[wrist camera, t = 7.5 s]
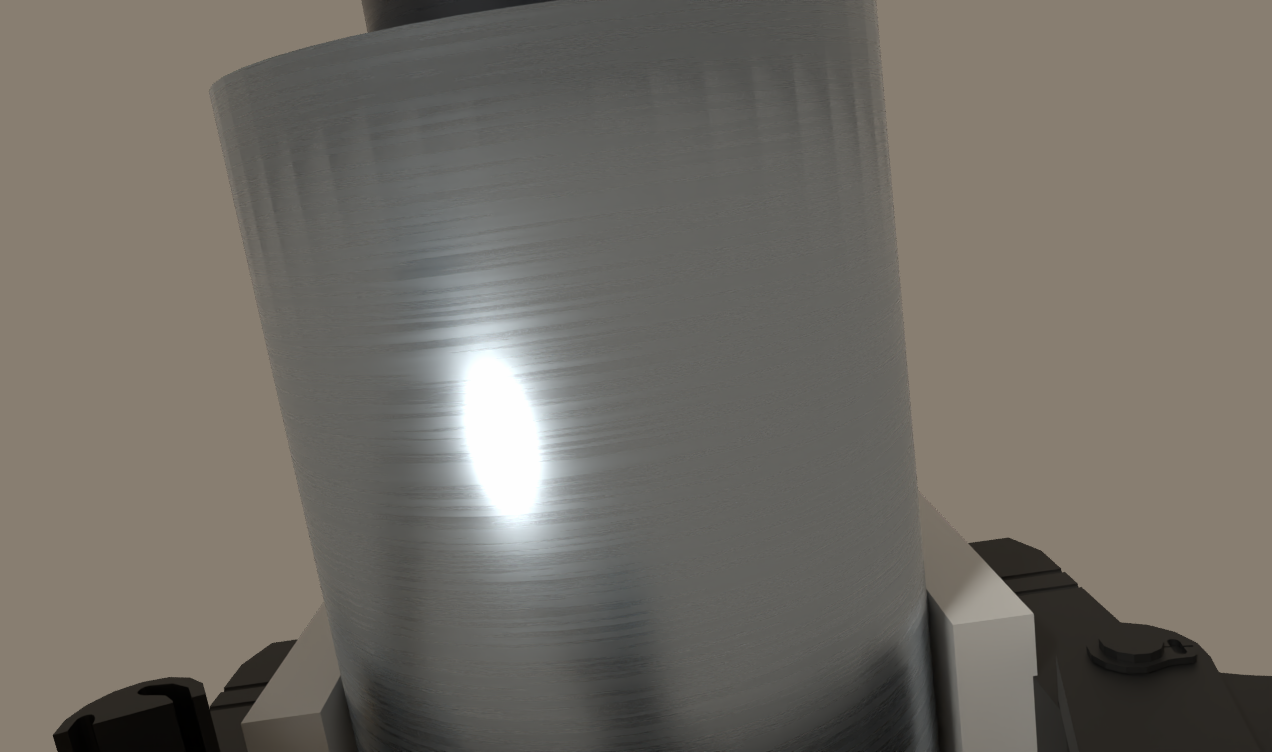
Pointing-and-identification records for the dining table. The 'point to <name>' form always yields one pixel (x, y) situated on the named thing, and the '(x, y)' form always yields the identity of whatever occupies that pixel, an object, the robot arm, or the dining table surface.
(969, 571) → the robot arm
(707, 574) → the bottle
